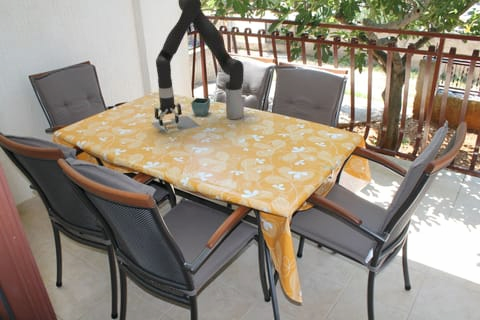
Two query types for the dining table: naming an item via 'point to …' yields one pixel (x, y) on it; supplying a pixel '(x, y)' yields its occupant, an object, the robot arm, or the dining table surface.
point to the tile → (170, 125)
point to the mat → (178, 124)
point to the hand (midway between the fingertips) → (169, 124)
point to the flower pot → (200, 106)
